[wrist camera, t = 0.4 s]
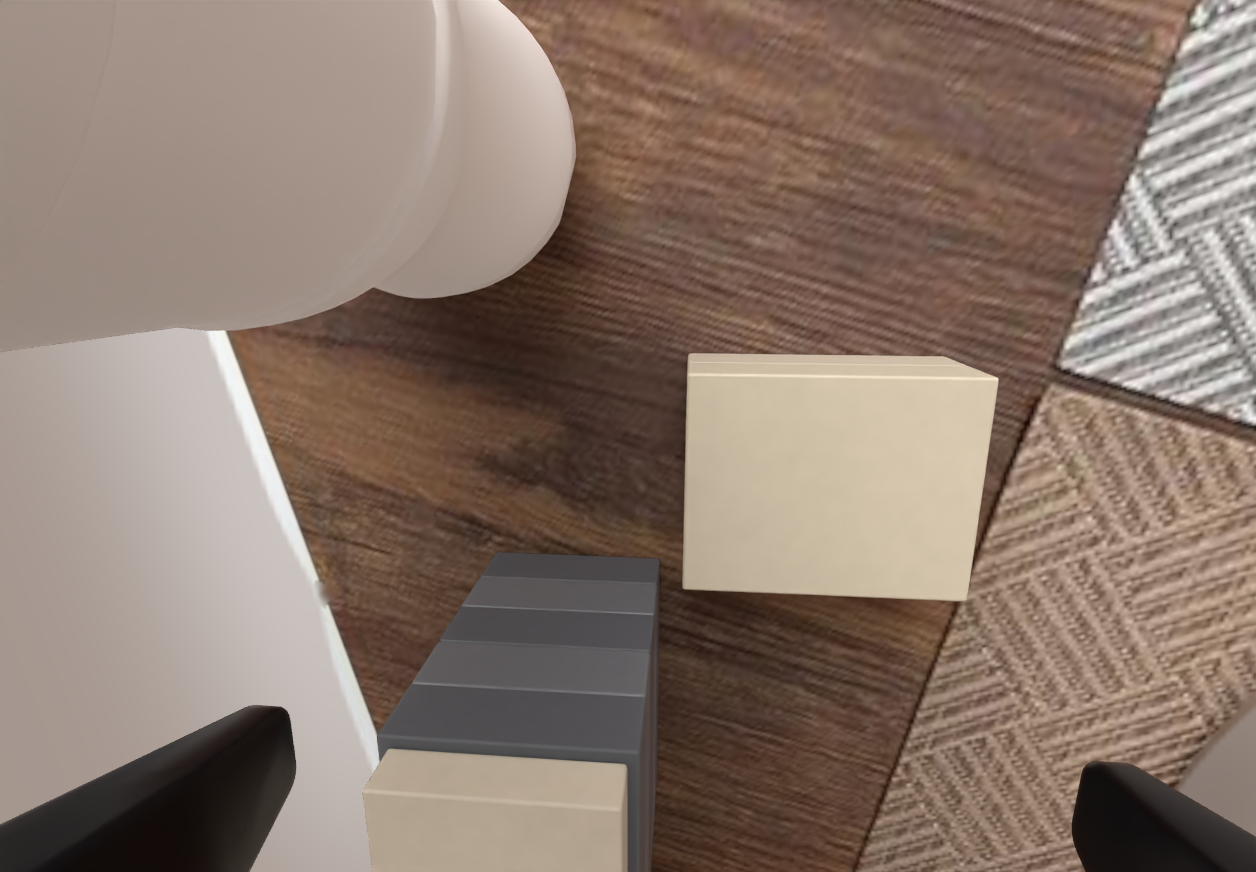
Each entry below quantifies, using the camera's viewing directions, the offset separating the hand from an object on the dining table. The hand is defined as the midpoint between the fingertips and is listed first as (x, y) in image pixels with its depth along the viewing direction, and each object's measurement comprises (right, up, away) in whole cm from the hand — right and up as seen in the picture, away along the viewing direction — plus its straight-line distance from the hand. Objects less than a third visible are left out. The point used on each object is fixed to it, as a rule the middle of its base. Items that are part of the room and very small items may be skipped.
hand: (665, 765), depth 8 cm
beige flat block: (-3, -7, +7) cm, 10 cm away
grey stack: (-2, -4, +16) cm, 17 cm away
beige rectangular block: (+5, +3, +13) cm, 14 cm away
